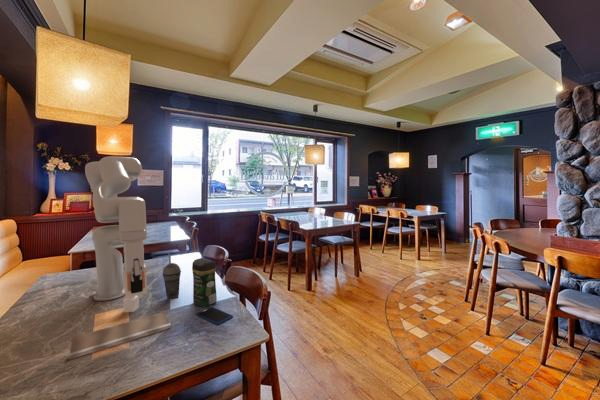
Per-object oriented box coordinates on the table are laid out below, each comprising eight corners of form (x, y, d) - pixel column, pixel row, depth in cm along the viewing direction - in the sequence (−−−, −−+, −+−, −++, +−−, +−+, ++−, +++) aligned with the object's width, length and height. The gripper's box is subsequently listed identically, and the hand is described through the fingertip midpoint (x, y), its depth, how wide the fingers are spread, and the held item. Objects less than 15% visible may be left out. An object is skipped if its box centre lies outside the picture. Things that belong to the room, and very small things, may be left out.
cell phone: (211, 307, 105) (211, 306, 105) (234, 317, 97) (234, 315, 97) (194, 315, 99) (194, 313, 99) (218, 326, 91) (217, 324, 91)
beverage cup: (174, 302, 109) (172, 256, 108) (159, 301, 111) (157, 255, 109) (185, 295, 116) (183, 251, 115) (171, 294, 118) (169, 251, 117)
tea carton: (124, 293, 86) (123, 267, 86) (145, 289, 90) (144, 263, 89) (125, 298, 83) (124, 270, 82) (147, 293, 86) (146, 266, 86)
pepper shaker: (129, 310, 103) (128, 287, 102) (139, 310, 103) (138, 287, 102) (123, 316, 99) (122, 291, 98) (134, 315, 99) (133, 291, 98)
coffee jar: (190, 302, 109) (188, 259, 108) (206, 296, 116) (205, 255, 114) (203, 309, 103) (201, 263, 102) (219, 302, 110) (218, 259, 109)
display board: (69, 364, 72) (68, 356, 72) (73, 341, 82) (72, 334, 82) (171, 331, 88) (171, 324, 88) (163, 316, 98) (163, 309, 98)
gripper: (118, 233, 90) (120, 285, 91) (121, 241, 76) (124, 301, 77) (143, 230, 94) (145, 280, 95) (150, 238, 81) (153, 295, 82)
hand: (136, 289), depth 86 cm, fingers closed on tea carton, 4 cm apart
